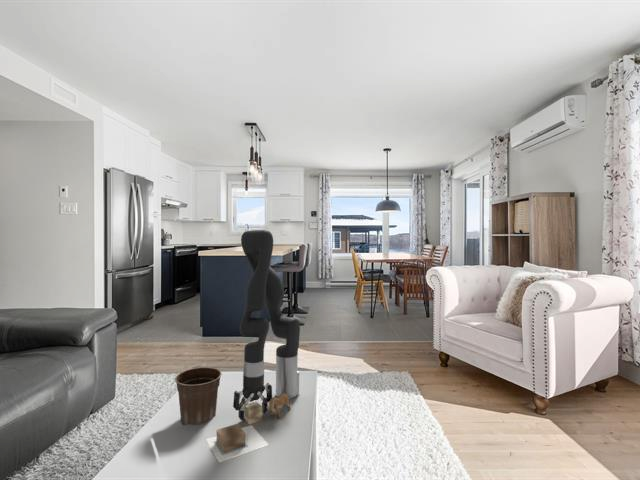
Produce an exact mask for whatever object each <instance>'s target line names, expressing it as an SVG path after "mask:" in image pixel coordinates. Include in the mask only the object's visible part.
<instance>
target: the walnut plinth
mask: <svg viewBox="0 0 640 480" xmlns="http://www.w3.org/2000/svg"><path fill="white" fill-rule="evenodd" d="M242 428H243V427H241V426H240V424H238V423H234V424H231V425H227V426H224V427H221V428H218V429H216V436H217V443H218V445H219V447H220V448H221V450H222V451H223V453H226V452H228V451H231V450H234V449H237V448H240V447H243V446H245V432H244V431H243V430H242Z"/></svg>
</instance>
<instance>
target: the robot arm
mask: <svg viewBox="0 0 640 480" xmlns="http://www.w3.org/2000/svg"><path fill="white" fill-rule="evenodd" d="M240 242H241V248H242V251H243V254H244V255H245V257H246V260H247V261H248V263H249V266H250V267H251V269H252V272H253V274H252V276H251V278H250V279H249V282H248V284H247V286H246V298H245V301H246V302H245V307H244V313H243V316H242V318H241V321H240V324H239V334H240V335H241V336H242V337H244V338H258V339H257V340H256V341H252V342H249V343H246V344H245V345H244V352H243V353H244V355H243V357H244V358H243V361H244V362H243V370H242V371H243V373H242V390H240V391H238V390H235V391H234V392H233V393H234V394H233V403H232V404H233V405H232V406H233V408H234V409H235V411H238V416H237V417H238V419H239V420H240V421H242V422H243V421H244V420H245V419H244V408H245V406H246V405H248V404H249V403H252V402H255V401H259V399H260V400H261V406H262V415H266V414H267V411H268V404H269V402H270V400H271V399H272V398H273V386H272V385H271V384H270V383H269V382H267V383H266V384H265V361H264V359H265V344H266V339H267V336H268V333H269V330H270V327H271V330H272V333H273V335H274V336H275V337H276V338H279V339H282V340H283V339H284V340H285V344H282V345H279V346H278V347H277V348H276V351H275V397H276V398H279V397H280V395H282V394H287V396H288V399H289V400H290V399H293V398H296V397H297V396H299V395H300V371H298V363H299V361H298V359H299V356H298V351H299V347H300V333H301V331H300V330H301V324H300V321H299V319H298V318H296V317H290V316H284V315H283V313H282V310H281V304H282V302H283V299H284V296H285V287H284V285H283V283H282V279H281V278H280V275H279V274H278V273H277V272H276V271H275V270H274V268H272V267H271V266H270V265H271V261H272V255H273V249H274V237H273V234H272V232H271V231H270V230H268V229H256V230H252V229H251V230H246V231H243V233H242V234H241V238H240ZM265 308H266V311H267V314H268V315H267V316H268V319H269V321H268V319H267V318H265V317H252V315H253V314H254V313H255V312H261V311H264V310H265ZM264 392H266V397H265V396H264V395H263V393H264Z"/></svg>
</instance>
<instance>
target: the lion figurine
mask: <svg viewBox="0 0 640 480" xmlns="http://www.w3.org/2000/svg"><path fill="white" fill-rule="evenodd" d="M284 404H285V406H286V407H287V406H288V407H287V411H291V403H290V399H288V396H287V394H282V395H280V397H279V398H278V397H277V396H274V397H273V396H272V399H271V400H270V401H269V402H268V411H269V412H270V414H271V415H270V416H271V417H274V414H276V413H277V415H276V418H277V419H278V420H281V411H282V409H283V407H284Z"/></svg>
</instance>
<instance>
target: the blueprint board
mask: <svg viewBox="0 0 640 480" xmlns="http://www.w3.org/2000/svg"><path fill="white" fill-rule="evenodd" d="M241 428H242V430H243V431H244V432H245V446H243V447H240V448H237V449H234V450H231V451H228V452H226V453H223V451H222V450H221V448H220V447H219V445H218V443H217V435H216V436H212V437H209V438H205V442H206V443H207V444H208V446H209V448H210V449H211V451H212V453H213V454H214V457H215V459H216V460H217V461H218V463H220V464H221V463H222V462H225V461H228V460H231V459H233V458H236V457H239V456H242V455H245V454H247V453H251V452H253V451H256V450H259V449H261V448H264V447H267V446H270V445H269V443H268V442H267V441H266V440H265V439H264V438H263V436H262V435H261V434H260V433H259V432H258V431H257V430H256V429H255V427H254V426H253V425H252V424H249V425H248V426H244V427H241Z"/></svg>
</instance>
